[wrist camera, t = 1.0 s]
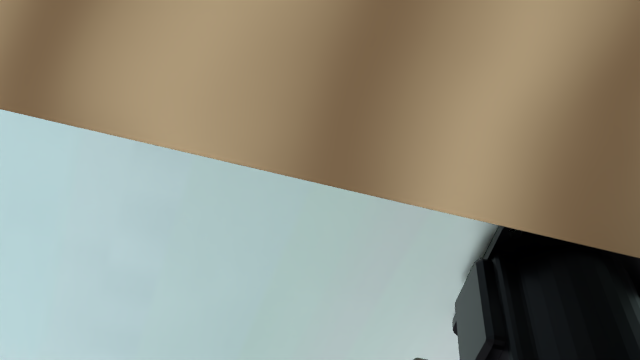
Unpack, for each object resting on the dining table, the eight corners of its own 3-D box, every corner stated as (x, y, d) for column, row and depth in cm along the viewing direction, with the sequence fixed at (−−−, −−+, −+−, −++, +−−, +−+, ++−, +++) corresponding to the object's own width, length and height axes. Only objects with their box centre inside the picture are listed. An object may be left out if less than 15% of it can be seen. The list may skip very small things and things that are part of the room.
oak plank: (818, -58, 16) (867, -75, 14) (718, 271, 16) (754, 285, 15) (69, -239, 15) (43, -276, 14) (7, 105, 16) (-23, 103, 15)
